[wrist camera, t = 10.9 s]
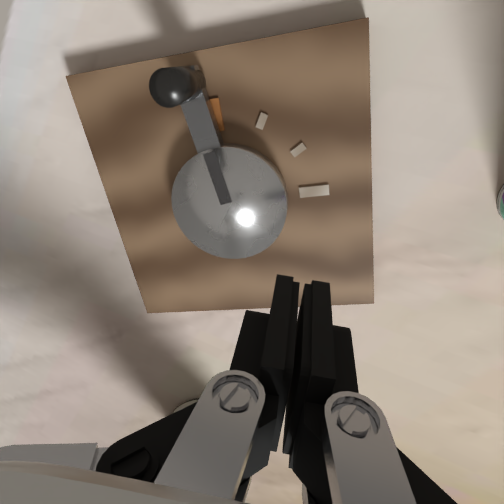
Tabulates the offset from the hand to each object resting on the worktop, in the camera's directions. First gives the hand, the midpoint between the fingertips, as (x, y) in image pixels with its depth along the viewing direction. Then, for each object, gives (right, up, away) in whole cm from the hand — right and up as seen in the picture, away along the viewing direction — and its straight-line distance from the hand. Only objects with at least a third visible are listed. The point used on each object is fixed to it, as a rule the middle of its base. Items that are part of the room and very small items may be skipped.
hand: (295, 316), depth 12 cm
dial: (-4, +9, +20) cm, 23 cm away
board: (-3, +7, +23) cm, 24 cm away
